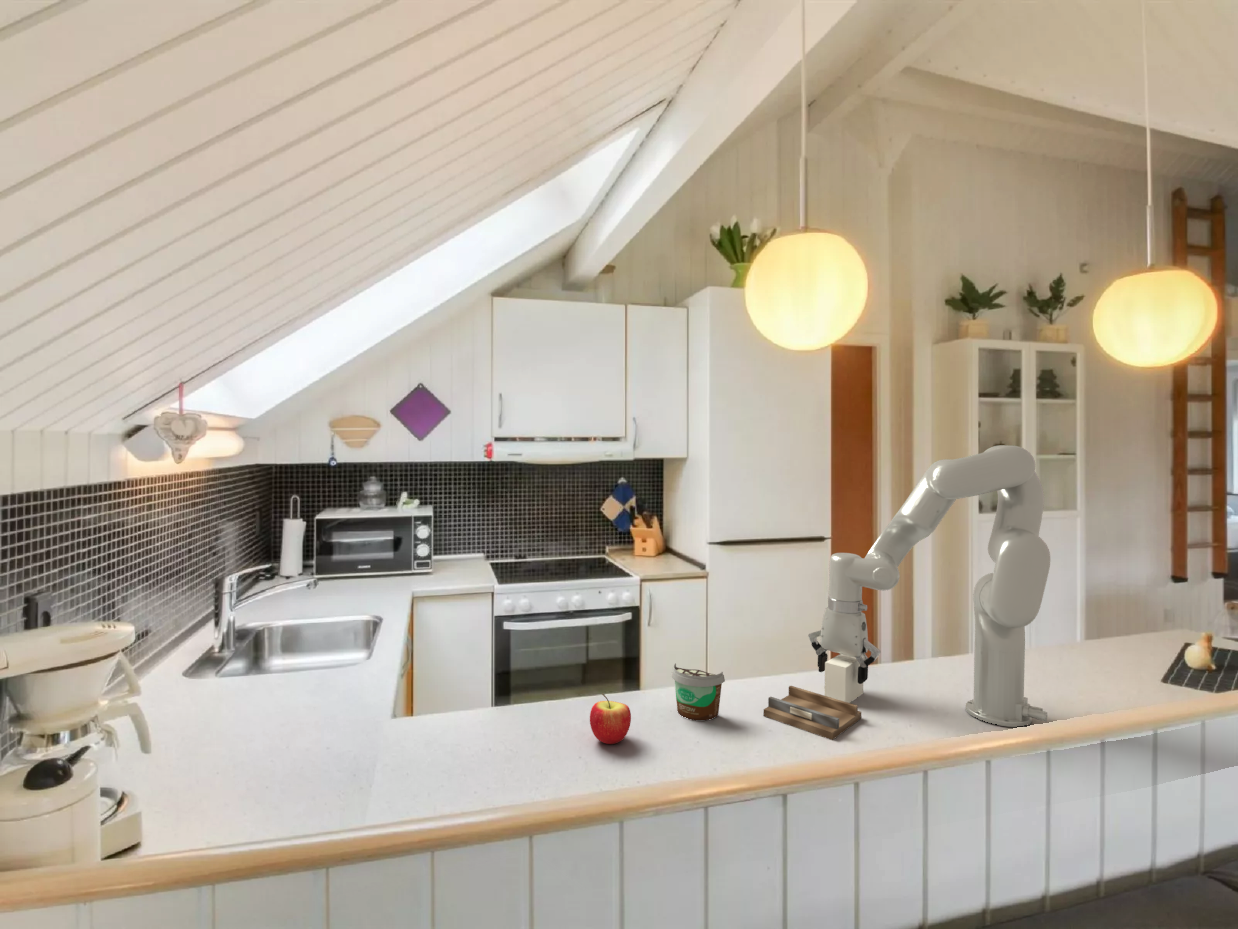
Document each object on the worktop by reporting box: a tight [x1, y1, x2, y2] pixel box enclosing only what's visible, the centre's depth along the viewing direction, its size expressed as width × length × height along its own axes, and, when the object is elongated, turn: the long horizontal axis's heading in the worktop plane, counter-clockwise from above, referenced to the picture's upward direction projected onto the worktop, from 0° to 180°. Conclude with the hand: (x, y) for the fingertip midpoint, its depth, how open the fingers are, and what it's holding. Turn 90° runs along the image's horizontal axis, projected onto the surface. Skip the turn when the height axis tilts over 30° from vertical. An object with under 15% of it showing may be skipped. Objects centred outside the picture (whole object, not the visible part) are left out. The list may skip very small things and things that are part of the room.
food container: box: [670, 663, 726, 721], centre depth 138 cm, size 12×6×10 cm, turn 62°
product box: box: [824, 653, 864, 703], centre depth 149 cm, size 5×10×9 cm, turn 136°
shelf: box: [763, 685, 862, 741], centre depth 137 cm, size 16×14×4 cm
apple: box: [589, 692, 632, 745], centre depth 126 cm, size 8×8×10 cm
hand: (841, 676), depth 149 cm, fingers open, 9 cm apart
